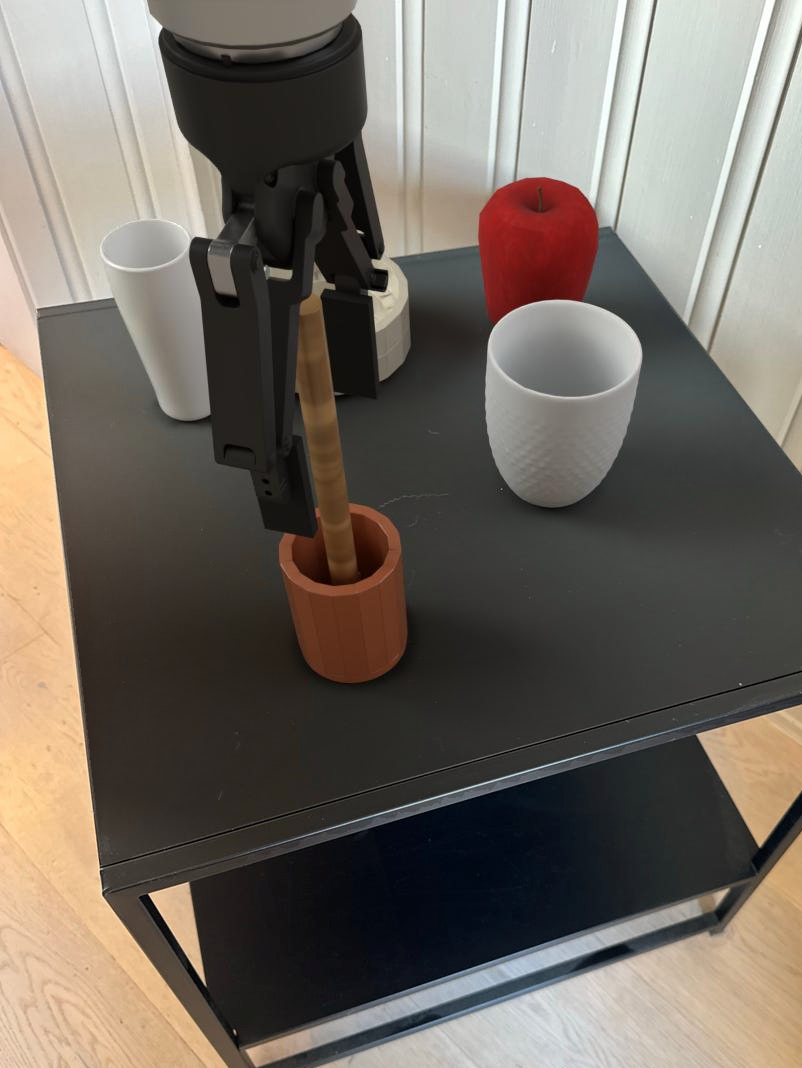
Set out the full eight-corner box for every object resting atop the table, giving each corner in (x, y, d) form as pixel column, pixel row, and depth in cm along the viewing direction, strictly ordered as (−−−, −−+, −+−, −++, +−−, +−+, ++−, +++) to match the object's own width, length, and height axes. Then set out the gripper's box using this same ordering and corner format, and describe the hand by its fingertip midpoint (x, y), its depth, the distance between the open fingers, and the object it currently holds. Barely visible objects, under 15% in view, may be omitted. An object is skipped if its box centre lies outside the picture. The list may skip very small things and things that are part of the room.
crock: (285, 670, 66) (260, 581, 58) (321, 587, 70) (303, 493, 62) (389, 693, 65) (380, 606, 57) (419, 607, 69) (414, 515, 61)
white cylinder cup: (218, 435, 79) (174, 275, 67) (140, 424, 80) (82, 265, 67) (242, 382, 83) (205, 222, 71) (168, 372, 83) (118, 212, 71)
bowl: (223, 386, 83) (208, 328, 78) (282, 288, 91) (272, 230, 86) (383, 416, 81) (379, 358, 76) (429, 313, 89) (427, 255, 84)
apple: (570, 373, 85) (587, 232, 73) (461, 348, 86) (462, 207, 75) (598, 304, 90) (618, 164, 79) (496, 282, 92) (501, 142, 81)
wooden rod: (358, 652, 66) (309, 326, 44) (333, 647, 66) (272, 320, 44) (372, 616, 68) (331, 286, 46) (348, 611, 68) (296, 280, 46)
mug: (457, 412, 81) (458, 277, 71) (579, 393, 83) (598, 259, 72) (501, 540, 73) (510, 410, 62) (636, 517, 75) (666, 386, 64)
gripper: (236, 199, 28) (322, 631, 46) (438, -86, 41) (443, 340, 59) (3, 162, 29) (178, 600, 47) (273, -106, 42) (328, 320, 60)
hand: (326, 456), depth 53 cm, fingers open, 10 cm apart
